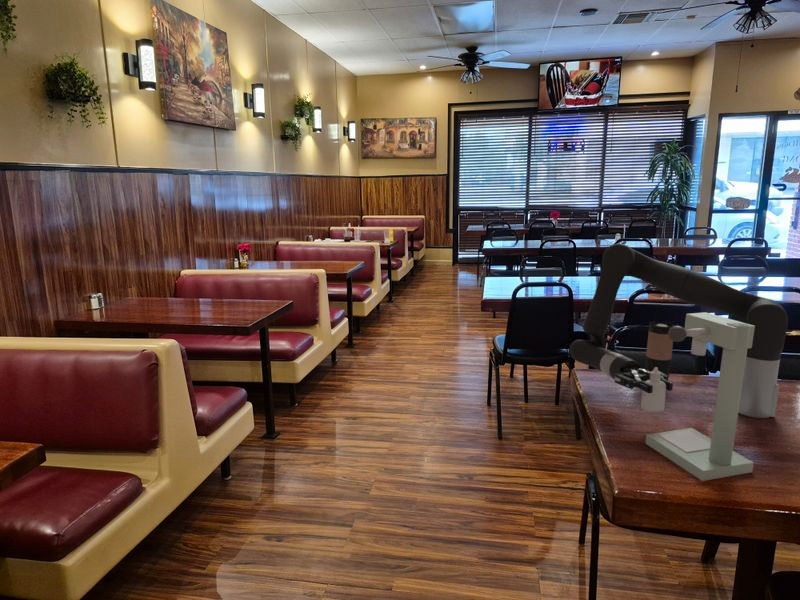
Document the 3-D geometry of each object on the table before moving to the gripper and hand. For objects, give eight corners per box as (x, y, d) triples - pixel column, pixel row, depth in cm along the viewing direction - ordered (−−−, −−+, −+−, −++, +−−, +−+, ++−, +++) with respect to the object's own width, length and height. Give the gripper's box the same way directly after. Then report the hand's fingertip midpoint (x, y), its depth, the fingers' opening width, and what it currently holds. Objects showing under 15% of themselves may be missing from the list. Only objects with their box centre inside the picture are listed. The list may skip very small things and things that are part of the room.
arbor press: (626, 446, 129) (638, 312, 122) (690, 436, 134) (706, 307, 127) (680, 484, 112) (699, 332, 105) (752, 472, 117) (774, 325, 110)
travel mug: (658, 386, 168) (665, 328, 164) (638, 379, 175) (644, 323, 171) (673, 382, 172) (680, 325, 168) (653, 375, 179) (659, 320, 174)
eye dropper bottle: (641, 404, 141) (645, 363, 138) (664, 408, 138) (668, 366, 136) (640, 410, 137) (643, 368, 135) (663, 414, 135) (667, 371, 132)
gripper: (599, 358, 147) (639, 378, 131) (641, 353, 151) (685, 372, 135) (597, 382, 149) (637, 405, 133) (639, 377, 152) (683, 398, 136)
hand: (661, 388), depth 134 cm, fingers closed on eye dropper bottle, 5 cm apart
